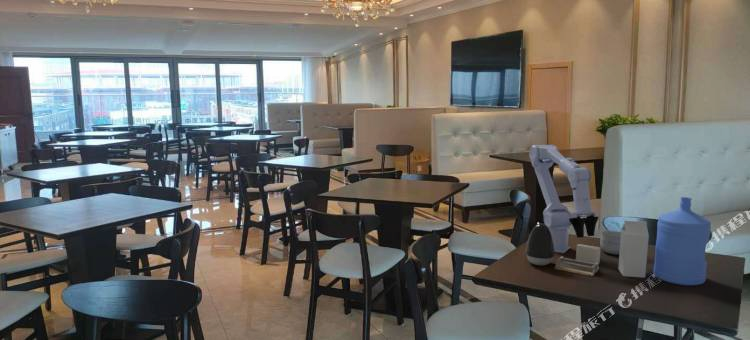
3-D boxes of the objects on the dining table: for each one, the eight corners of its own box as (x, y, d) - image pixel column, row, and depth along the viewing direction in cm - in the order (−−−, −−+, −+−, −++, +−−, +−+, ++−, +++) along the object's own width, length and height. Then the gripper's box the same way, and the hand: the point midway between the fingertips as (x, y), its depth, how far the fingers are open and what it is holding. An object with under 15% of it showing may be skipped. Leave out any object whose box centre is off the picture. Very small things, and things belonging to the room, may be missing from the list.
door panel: (577, 259, 204) (578, 243, 203) (599, 263, 199) (600, 247, 198) (575, 260, 202) (576, 245, 201) (598, 264, 197) (599, 249, 197)
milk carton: (645, 278, 183) (649, 224, 180) (623, 276, 185) (627, 223, 182) (639, 271, 190) (643, 219, 187) (618, 269, 192) (622, 218, 189)
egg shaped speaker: (550, 259, 203) (552, 220, 201) (556, 268, 193) (559, 227, 190) (523, 258, 204) (524, 219, 202) (527, 267, 194) (529, 226, 191)
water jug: (678, 288, 174) (686, 204, 170) (642, 272, 189) (649, 194, 185) (716, 283, 178) (725, 201, 174) (678, 268, 193) (685, 192, 189)
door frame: (562, 262, 200) (562, 255, 199) (598, 269, 192) (599, 261, 192) (554, 268, 192) (555, 261, 192) (592, 276, 185) (593, 268, 185)
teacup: (593, 250, 214) (594, 231, 213) (612, 247, 219) (614, 228, 218) (622, 260, 202) (623, 240, 201) (642, 256, 206) (643, 236, 205)
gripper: (581, 199, 190) (585, 237, 189) (601, 198, 200) (605, 235, 199) (563, 201, 196) (567, 238, 195) (584, 200, 205) (587, 235, 204)
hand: (585, 236), depth 197 cm, fingers open, 7 cm apart
